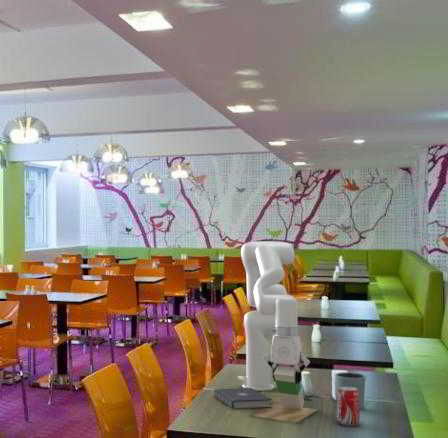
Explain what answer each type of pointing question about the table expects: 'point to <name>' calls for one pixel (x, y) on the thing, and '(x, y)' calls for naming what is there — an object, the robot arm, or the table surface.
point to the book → (242, 398)
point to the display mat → (284, 413)
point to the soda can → (348, 406)
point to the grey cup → (353, 384)
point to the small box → (335, 382)
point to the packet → (288, 388)
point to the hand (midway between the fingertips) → (286, 381)
